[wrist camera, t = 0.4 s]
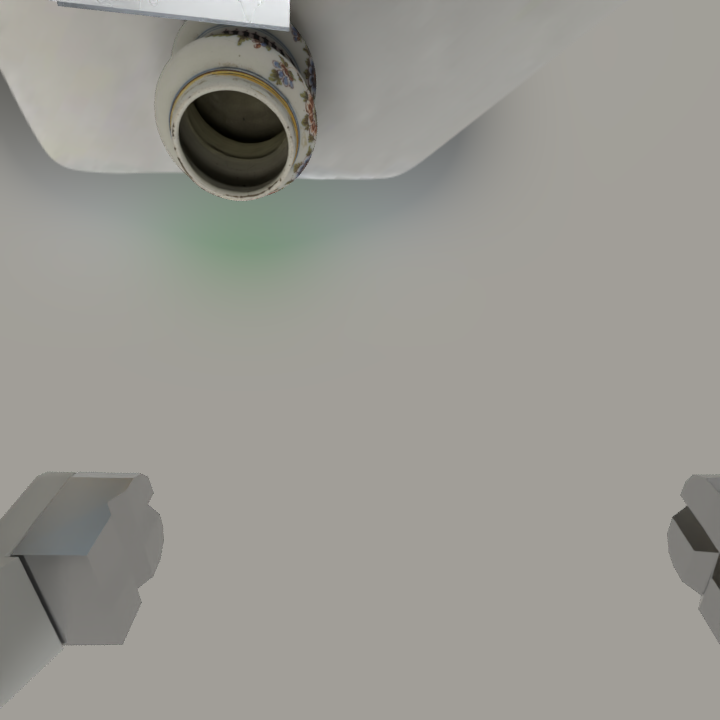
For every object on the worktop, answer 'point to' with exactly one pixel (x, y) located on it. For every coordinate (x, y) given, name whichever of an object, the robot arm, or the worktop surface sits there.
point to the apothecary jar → (238, 108)
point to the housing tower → (200, 10)
